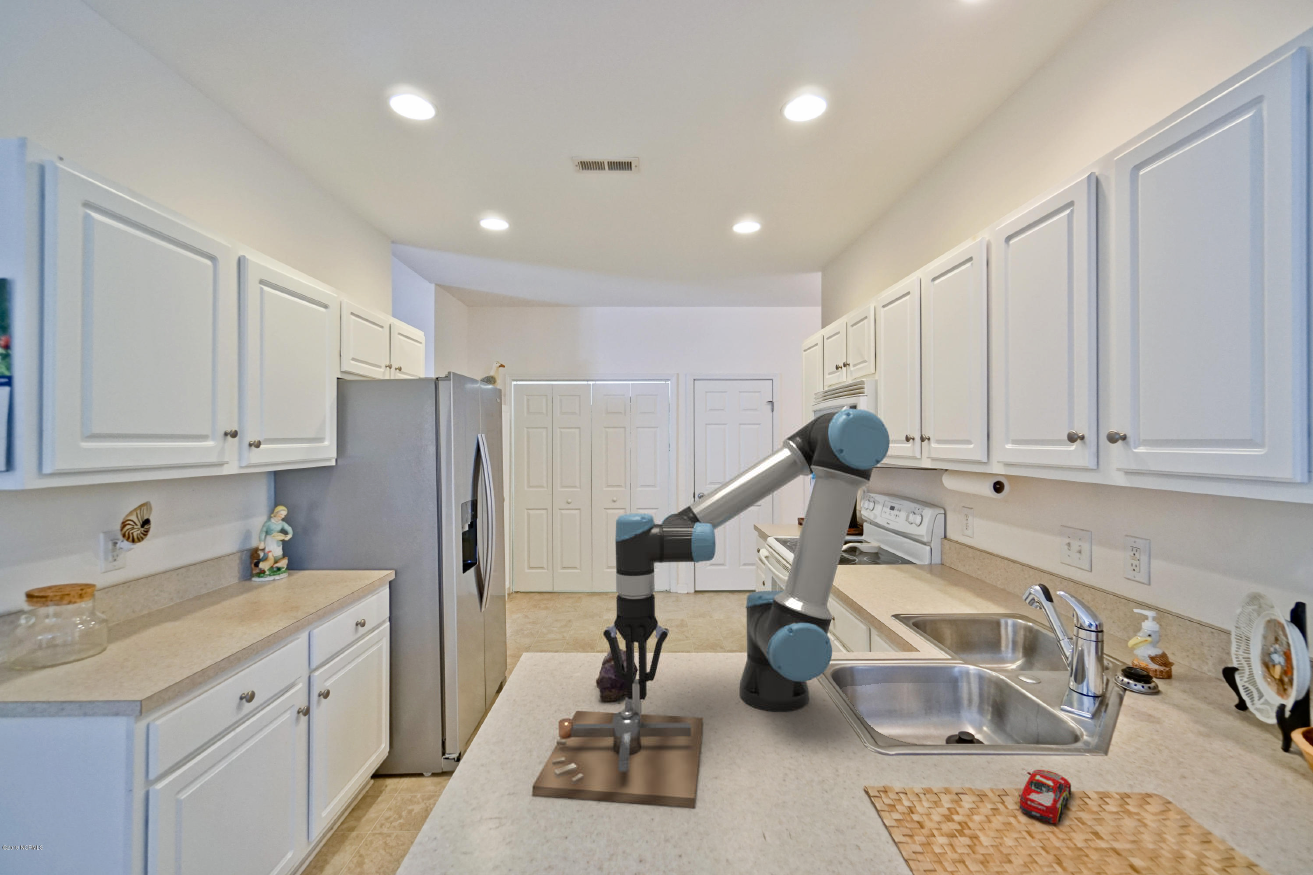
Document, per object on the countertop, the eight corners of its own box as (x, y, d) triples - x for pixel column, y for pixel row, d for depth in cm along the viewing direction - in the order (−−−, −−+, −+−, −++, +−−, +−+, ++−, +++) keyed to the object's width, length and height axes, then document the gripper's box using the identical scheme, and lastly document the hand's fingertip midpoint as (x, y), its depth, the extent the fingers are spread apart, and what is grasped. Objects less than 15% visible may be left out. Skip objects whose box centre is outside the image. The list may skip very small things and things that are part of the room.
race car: (1035, 778, 94) (1035, 754, 95) (1075, 792, 91) (1074, 767, 91) (1013, 813, 85) (1013, 787, 85) (1056, 831, 81) (1056, 803, 81)
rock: (593, 708, 123) (639, 706, 123) (591, 672, 122) (637, 670, 122) (596, 678, 135) (638, 676, 135) (595, 644, 133) (637, 643, 134)
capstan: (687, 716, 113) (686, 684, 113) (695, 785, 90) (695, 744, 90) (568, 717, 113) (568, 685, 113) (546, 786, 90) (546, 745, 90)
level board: (703, 725, 113) (702, 714, 113) (694, 807, 87) (694, 793, 87) (576, 717, 116) (576, 707, 116) (532, 795, 90) (532, 781, 90)
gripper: (670, 589, 113) (671, 707, 113) (607, 588, 115) (609, 704, 114) (666, 599, 106) (667, 726, 105) (599, 598, 107) (600, 722, 107)
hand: (637, 715), depth 110 cm, fingers closed
